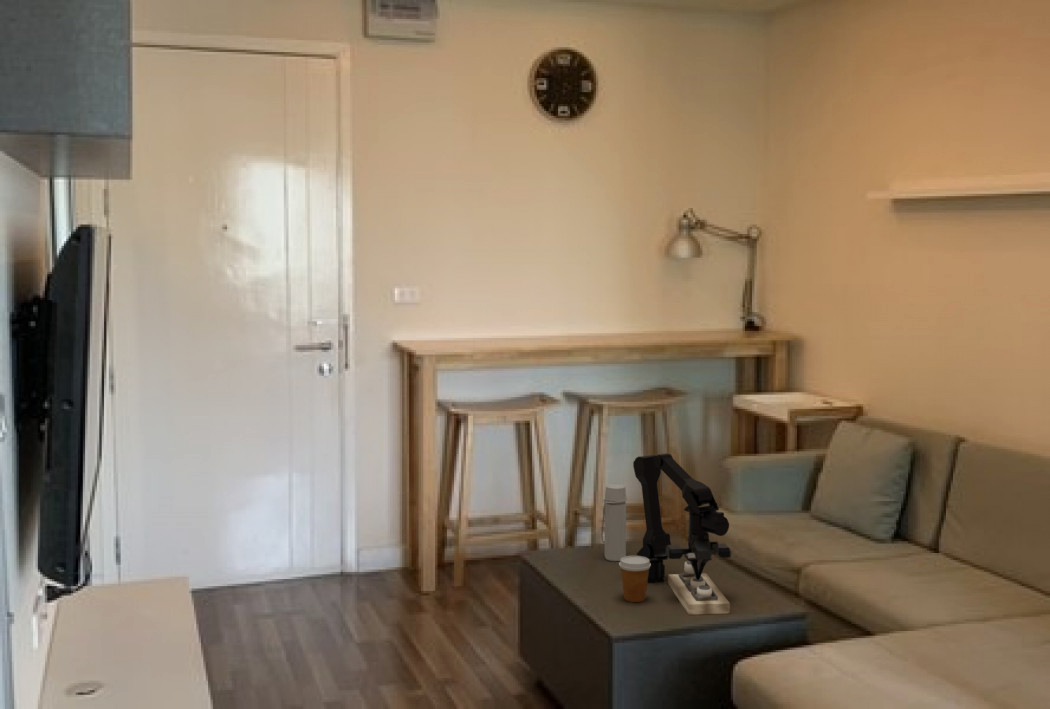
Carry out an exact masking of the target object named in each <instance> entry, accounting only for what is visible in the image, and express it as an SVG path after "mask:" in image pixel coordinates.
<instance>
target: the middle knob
mask: <svg viewBox="0 0 1050 709" xmlns="http://www.w3.org/2000/svg"><path fill="white" fill-rule="evenodd" d="M702 585H705V579H703V578H700V579H696V578H692V579H691V580H690V587H691V588H697V587H698V586H702Z"/></svg>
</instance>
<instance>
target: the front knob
mask: <svg viewBox="0 0 1050 709" xmlns="http://www.w3.org/2000/svg"><path fill="white" fill-rule="evenodd" d="M697 597H712V588H711V587H709V586H705V585H702V586H698V587H697Z"/></svg>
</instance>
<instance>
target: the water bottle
mask: <svg viewBox="0 0 1050 709" xmlns="http://www.w3.org/2000/svg"><path fill="white" fill-rule="evenodd" d="M604 492H605V493H604V498H603V499H602V503H603V505H604V506H603V514H602V522H601V523H602V524H601V534H600V540H601V543H602V544H604V558H605V559H606V560H607V561H609V562H620V560H621V558H622V557H625V556H627V554H626V552H627V550H626V549H627V503H626V502H627V492H626V485H625V484H621V483H620V484H616V483H614V484H613V483H611V484H607V485H605V490H604ZM603 534H604V536H603Z"/></svg>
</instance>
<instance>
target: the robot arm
mask: <svg viewBox="0 0 1050 709" xmlns="http://www.w3.org/2000/svg"><path fill="white" fill-rule="evenodd" d="M632 464H633V471H634V476H635V478H636V480H638V482H639V483H640V485H641V493H642V499H643V500H642V501H643V509H644V510H643V511H644V517H645V518H644V519H645V527H646V530H645V533H644V536H643V538H642V546H641V548H640V549H639V550H638V551H637V553H636V556H642V557H646V558H648V559H649V561H650V563H651V566H650V568H649V573H648V581H647V583H651V582H653V583H655V582H658V583H660V582H665V578H666V565H665V564H664V561H667V560H668V559H669V560H680V559H681V558H682V557H683V556H684V557H685V559H686V560H687V561H690V563H691V565H692V568H693V571H694V574H695V577H696V579H700V576H701V574H702V573H703V571H704V568H705V566H706V565H707V563H708V562H709V561H712V560H713V558H712V557H713V555H716V554H717V555H718V556H719V557H720V558H722V559H723V558H724V559H726V558H731V557H732V551H731V548H730V547H729V546H728V545H727V544H726V543H719V542H718V541H710V535H709V533H710V534H712V535H716V536H719V537H723V536H725V535H727V533H728V531H729V530H730V522H729V520H728V518H727V517H725V513H724V512H723V511H719V510H720V507H719V506H718V503H717V501H716V499H715V497H714V495H713V491H712V490H711V488H710V487H709V486H708V485H706V484H705V483H703V482H702V481H699V480H696V479H694V478H693V477H691V475H690V474H689V473H688V472H687V471H685V468H683V467H682V466H681V465H680V464H679V463H678V462H677V461H676V460H675V459H674V458H673V456H672V454H671V453H658V454H656V455H655V454H648V455H642V456H637V457H635V459H634V460H633V463H632ZM662 473H664V474H665V475H666V476H667V477H668V478H669V479H670V480H671V481H672V482H673V484H675V485H676V487H677V488H678V489H680V491H681V496H682V498H683V500H684V501H685V503H686V504H687V506H686V507H684V508H683V511H685V512H687V513H688V530H687V531H688V542H687V546H688V547H684V548H683V547H681V546H680V545H679V544H672V542H671V535H670V533H666V531H665V530H664V529H663V522H662V521H663V520H662V515H661V514H662V513H661V506H660V496H659V488H658V482H659V479H660V477H661V474H662ZM697 563H698V565H697Z"/></svg>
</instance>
